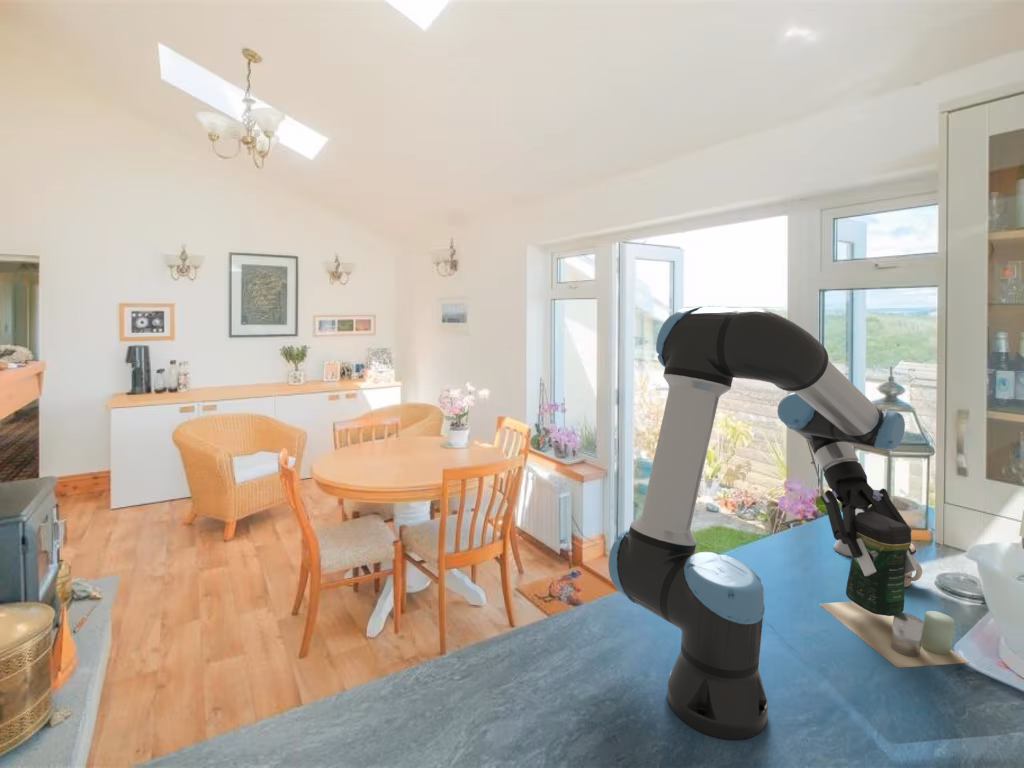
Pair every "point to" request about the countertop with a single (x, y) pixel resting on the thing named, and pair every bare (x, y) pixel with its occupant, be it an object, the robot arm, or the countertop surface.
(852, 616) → the birch board
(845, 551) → the flask
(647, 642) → the countertop surface
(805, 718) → the countertop surface
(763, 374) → the robot arm
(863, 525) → the coffee jar
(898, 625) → the shiny silver cylinder
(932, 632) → the sage tin
